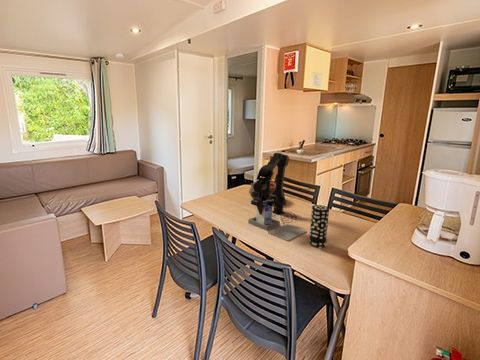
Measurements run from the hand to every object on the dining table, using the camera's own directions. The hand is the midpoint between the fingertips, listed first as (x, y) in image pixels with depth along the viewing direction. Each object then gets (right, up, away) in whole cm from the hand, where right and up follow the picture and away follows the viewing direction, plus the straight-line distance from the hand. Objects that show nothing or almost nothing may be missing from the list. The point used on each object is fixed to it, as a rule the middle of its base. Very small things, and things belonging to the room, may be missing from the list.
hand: (264, 213), depth 162 cm
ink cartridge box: (0, -7, +1) cm, 7 cm away
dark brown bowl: (+4, +3, +45) cm, 46 cm away
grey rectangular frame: (0, -7, +1) cm, 7 cm away
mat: (+12, -10, -10) cm, 18 cm away
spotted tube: (+25, -13, -23) cm, 37 cm away
